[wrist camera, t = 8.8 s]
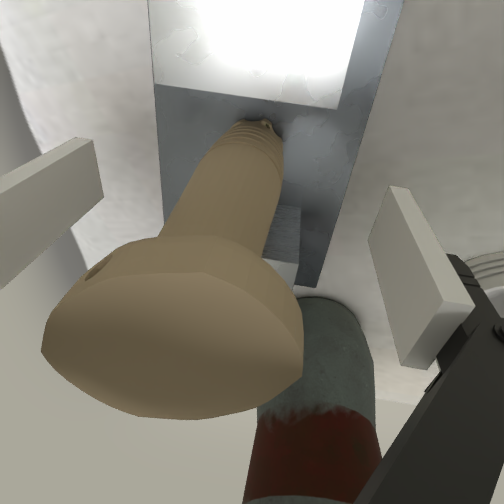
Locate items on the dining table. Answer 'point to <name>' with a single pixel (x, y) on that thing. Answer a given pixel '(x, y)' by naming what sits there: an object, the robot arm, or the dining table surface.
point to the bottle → (319, 418)
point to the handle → (190, 299)
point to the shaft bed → (272, 101)
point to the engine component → (490, 278)
